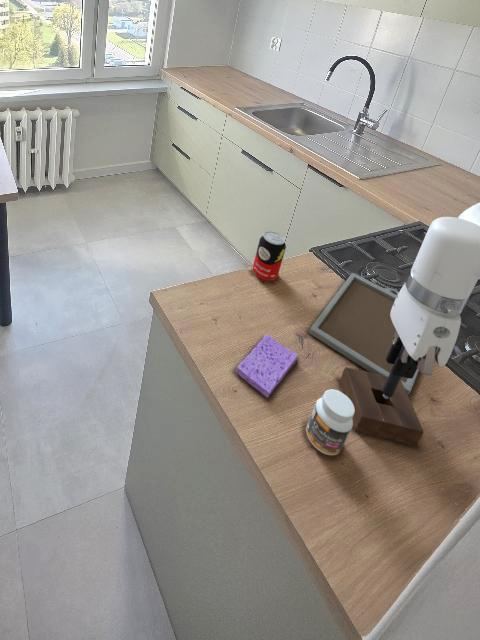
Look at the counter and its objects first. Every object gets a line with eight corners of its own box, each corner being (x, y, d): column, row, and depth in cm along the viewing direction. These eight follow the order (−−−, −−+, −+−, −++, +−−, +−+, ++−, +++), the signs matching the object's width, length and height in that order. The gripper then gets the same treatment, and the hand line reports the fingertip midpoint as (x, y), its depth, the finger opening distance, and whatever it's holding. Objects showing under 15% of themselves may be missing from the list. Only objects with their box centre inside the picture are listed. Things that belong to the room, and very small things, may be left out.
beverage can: (249, 264, 114) (258, 228, 109) (273, 267, 113) (283, 231, 108) (254, 280, 108) (264, 244, 103) (279, 284, 107) (290, 247, 102)
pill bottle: (303, 444, 72) (318, 407, 68) (307, 415, 77) (321, 379, 73) (340, 464, 70) (358, 427, 66) (341, 433, 74) (358, 397, 70)
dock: (393, 392, 82) (400, 379, 80) (416, 446, 73) (424, 431, 71) (339, 380, 84) (345, 366, 82) (355, 430, 75) (361, 416, 73)
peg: (388, 393, 77) (411, 344, 72) (392, 402, 76) (416, 352, 71) (378, 391, 78) (401, 342, 72) (382, 399, 76) (405, 350, 71)
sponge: (234, 372, 84) (236, 366, 83) (265, 338, 92) (267, 332, 91) (267, 399, 79) (269, 393, 79) (296, 360, 87) (298, 354, 87)
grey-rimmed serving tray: (309, 328, 93) (355, 267, 112) (308, 333, 94) (354, 272, 113) (410, 392, 80) (443, 311, 99) (407, 397, 81) (440, 316, 100)
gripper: (493, 336, 58) (445, 419, 66) (437, 261, 72) (403, 337, 80) (432, 325, 60) (392, 407, 67) (389, 254, 74) (360, 328, 81)
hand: (398, 368), depth 74 cm, fingers closed on peg, 1 cm apart
